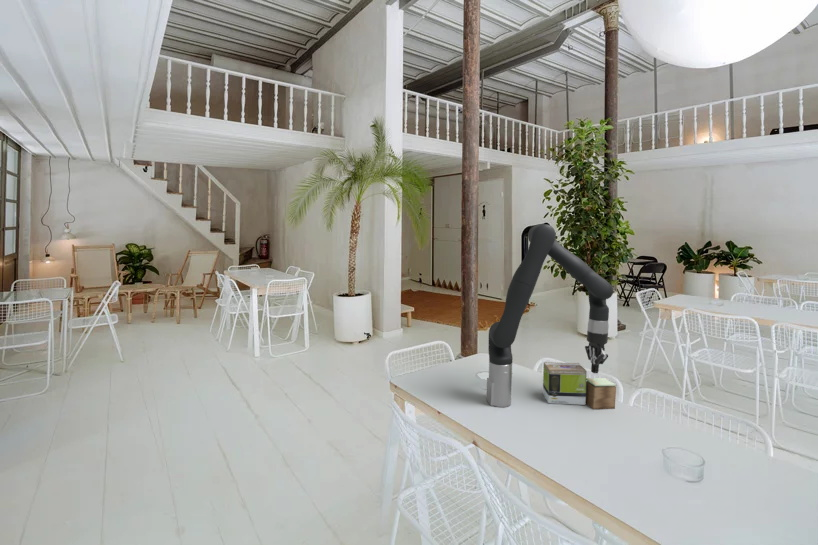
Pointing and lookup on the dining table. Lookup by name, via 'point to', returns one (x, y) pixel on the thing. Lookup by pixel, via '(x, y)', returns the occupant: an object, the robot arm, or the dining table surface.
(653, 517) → the dining table surface
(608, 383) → the lid
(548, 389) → the tea box
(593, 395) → the chest
